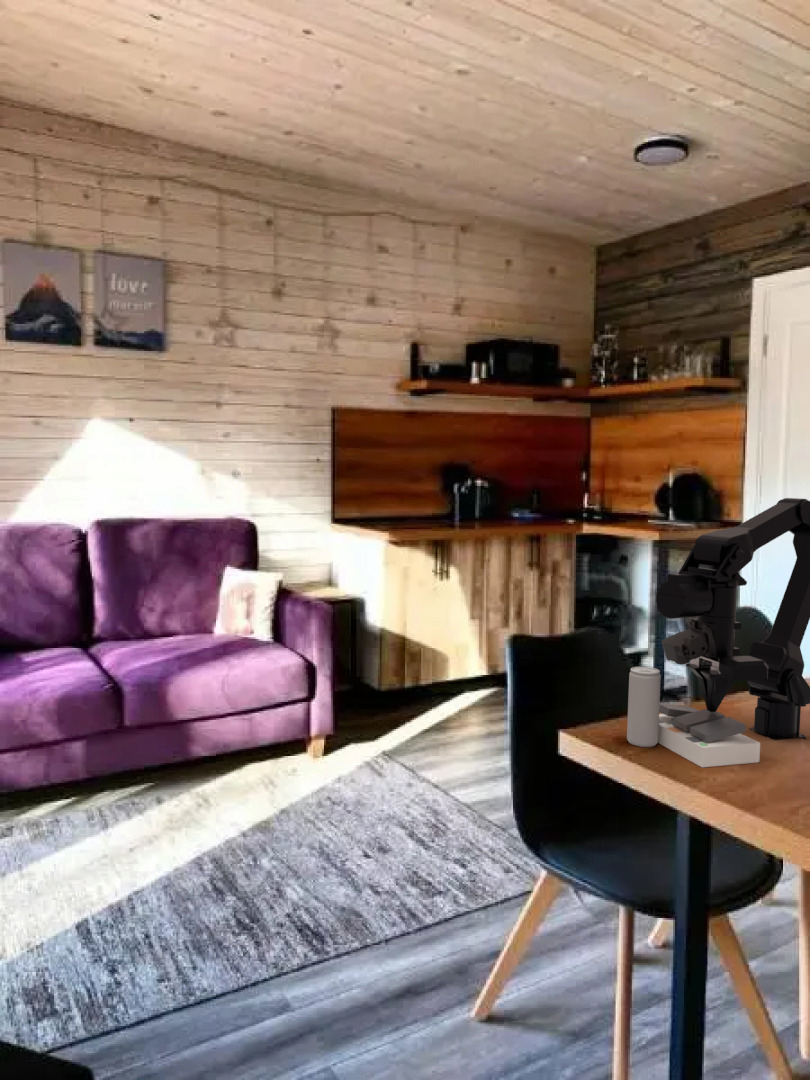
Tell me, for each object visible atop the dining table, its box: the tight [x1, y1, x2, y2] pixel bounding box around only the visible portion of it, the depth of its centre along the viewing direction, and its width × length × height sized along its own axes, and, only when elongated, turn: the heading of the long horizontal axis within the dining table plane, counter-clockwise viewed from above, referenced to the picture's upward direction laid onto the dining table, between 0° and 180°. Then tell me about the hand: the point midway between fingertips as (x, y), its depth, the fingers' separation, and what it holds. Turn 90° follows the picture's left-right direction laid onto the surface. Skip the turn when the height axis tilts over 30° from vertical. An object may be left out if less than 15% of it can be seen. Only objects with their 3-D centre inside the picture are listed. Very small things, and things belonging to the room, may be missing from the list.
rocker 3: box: [690, 716, 747, 743], centre depth 131 cm, size 7×4×1 cm, turn 106°
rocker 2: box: [671, 708, 726, 733], centre depth 136 cm, size 7×4×1 cm, turn 106°
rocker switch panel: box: [657, 713, 761, 768], centre depth 136 cm, size 10×17×3 cm, turn 16°
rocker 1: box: [659, 702, 700, 717], centre depth 140 cm, size 7×4×1 cm, turn 106°
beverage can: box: [626, 666, 662, 748], centre depth 137 cm, size 5×5×12 cm
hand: (711, 711), depth 136 cm, fingers closed
